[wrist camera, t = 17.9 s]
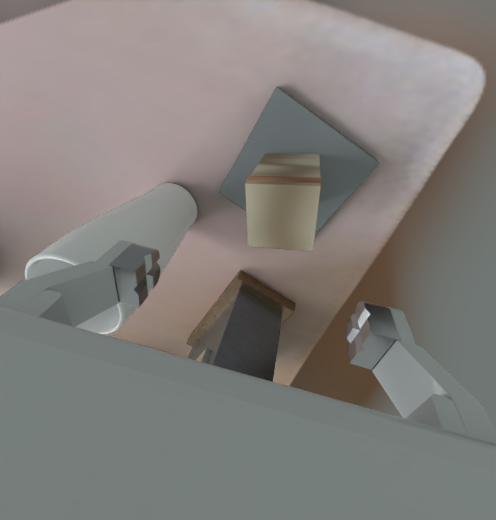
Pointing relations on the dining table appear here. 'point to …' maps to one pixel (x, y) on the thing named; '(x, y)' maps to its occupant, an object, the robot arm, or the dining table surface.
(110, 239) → the drinking glass
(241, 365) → the cabinet
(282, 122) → the mat
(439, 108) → the dining table surface
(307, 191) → the block
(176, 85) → the dining table surface
